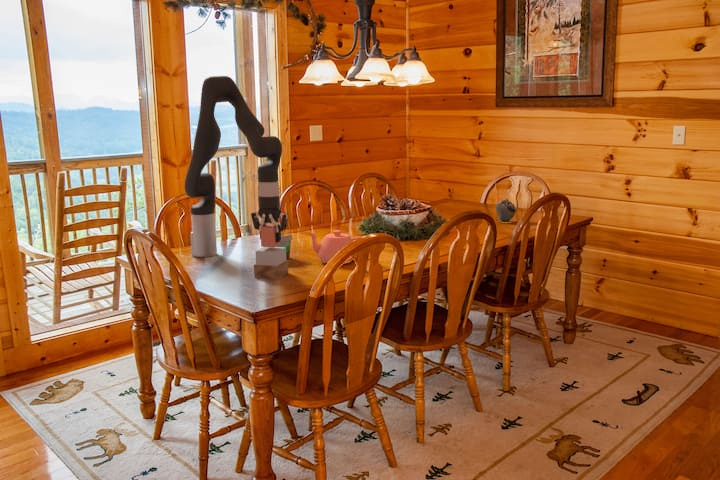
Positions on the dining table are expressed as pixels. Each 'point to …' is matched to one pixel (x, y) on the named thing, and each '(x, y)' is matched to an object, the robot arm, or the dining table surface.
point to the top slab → (270, 256)
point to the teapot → (331, 244)
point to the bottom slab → (271, 271)
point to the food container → (286, 244)
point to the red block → (268, 236)
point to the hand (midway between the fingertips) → (270, 241)
